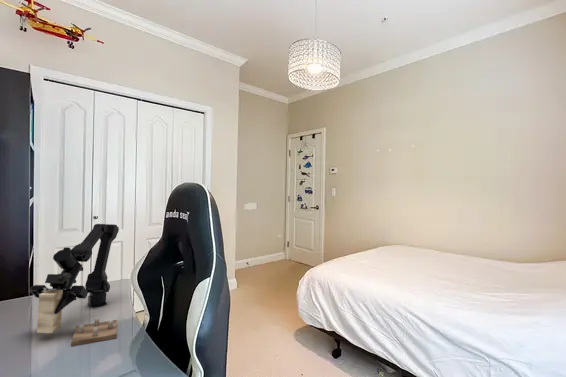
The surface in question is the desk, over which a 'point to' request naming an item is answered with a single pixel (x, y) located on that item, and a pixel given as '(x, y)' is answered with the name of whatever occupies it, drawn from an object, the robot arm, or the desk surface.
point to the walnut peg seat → (94, 332)
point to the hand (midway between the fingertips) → (47, 313)
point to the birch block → (49, 311)
